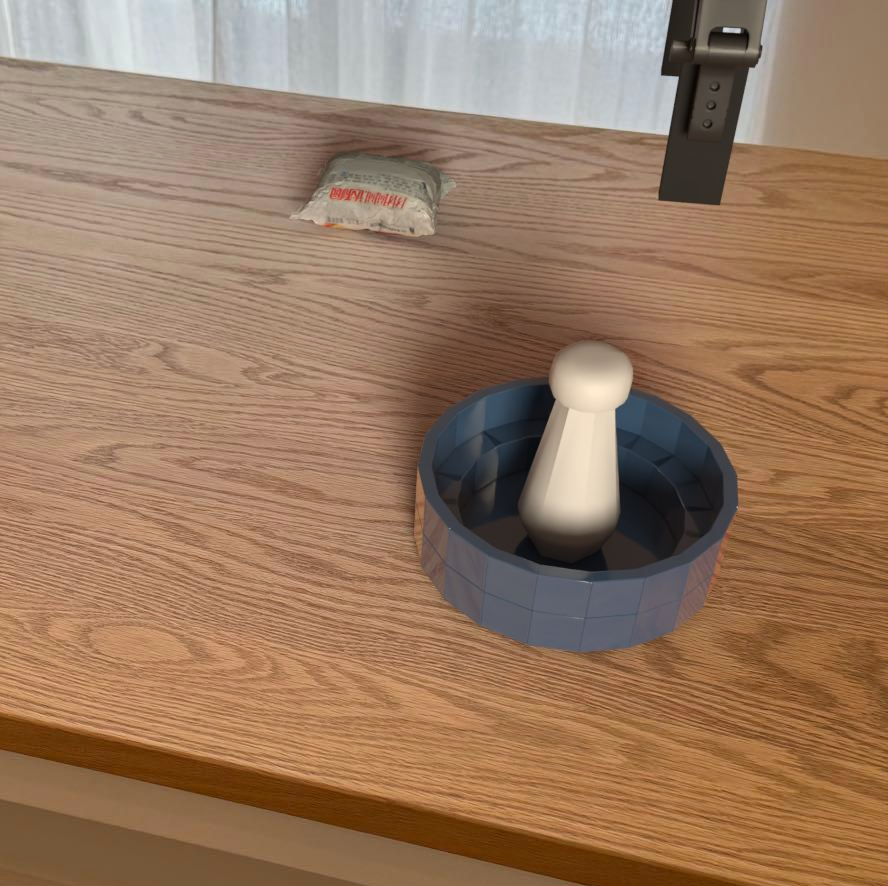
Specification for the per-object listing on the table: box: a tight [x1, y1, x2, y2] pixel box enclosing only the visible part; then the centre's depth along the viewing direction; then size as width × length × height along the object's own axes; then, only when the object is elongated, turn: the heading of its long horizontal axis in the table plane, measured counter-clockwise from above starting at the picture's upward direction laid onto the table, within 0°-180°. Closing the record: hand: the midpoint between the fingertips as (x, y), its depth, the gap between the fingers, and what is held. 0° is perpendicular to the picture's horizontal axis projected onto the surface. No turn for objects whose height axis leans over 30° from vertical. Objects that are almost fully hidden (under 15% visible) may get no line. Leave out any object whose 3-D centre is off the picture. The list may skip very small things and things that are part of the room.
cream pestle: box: [518, 339, 634, 563], centre depth 69 cm, size 6×6×13 cm
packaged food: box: [288, 150, 458, 238], centre depth 100 cm, size 9×12×5 cm
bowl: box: [413, 376, 739, 653], centre depth 71 cm, size 18×18×6 cm
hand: (687, 132), depth 61 cm, fingers open, 13 cm apart
